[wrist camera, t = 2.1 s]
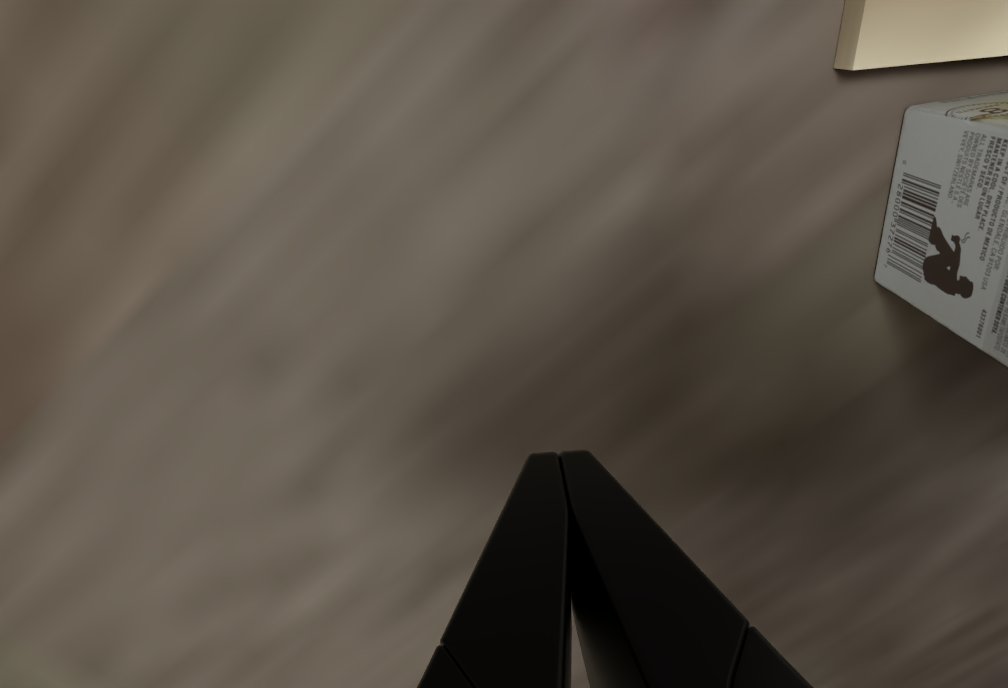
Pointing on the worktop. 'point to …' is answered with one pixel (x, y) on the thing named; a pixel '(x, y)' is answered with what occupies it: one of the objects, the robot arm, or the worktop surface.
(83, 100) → the worktop surface
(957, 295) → the coffee box
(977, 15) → the cutting board
